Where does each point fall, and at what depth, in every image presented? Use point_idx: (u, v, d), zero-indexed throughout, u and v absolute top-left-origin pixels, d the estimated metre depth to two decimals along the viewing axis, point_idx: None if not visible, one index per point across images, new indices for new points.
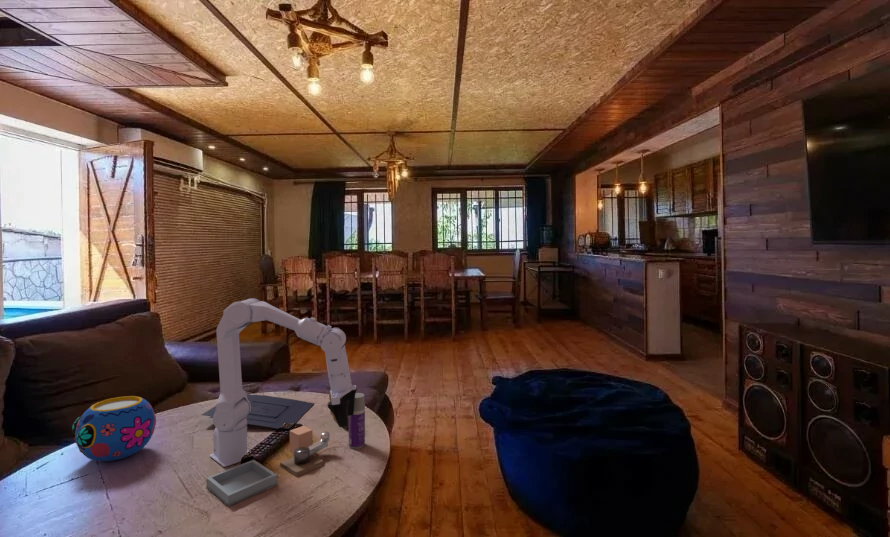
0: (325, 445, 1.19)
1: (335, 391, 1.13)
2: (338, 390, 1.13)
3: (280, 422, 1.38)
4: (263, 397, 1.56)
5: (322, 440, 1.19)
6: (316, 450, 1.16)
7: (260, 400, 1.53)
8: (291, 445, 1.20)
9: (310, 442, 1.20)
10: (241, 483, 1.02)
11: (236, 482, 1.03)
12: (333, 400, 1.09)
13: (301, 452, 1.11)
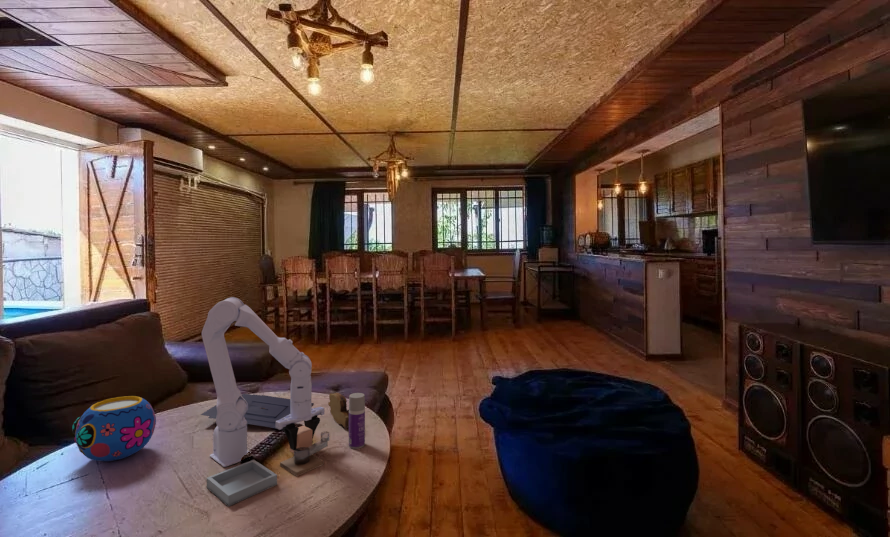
0: (325, 445, 1.19)
1: (290, 415, 1.19)
2: (291, 415, 1.18)
3: None
4: (262, 397, 1.56)
5: (322, 440, 1.19)
6: (316, 450, 1.16)
7: (259, 400, 1.53)
8: None
9: (310, 442, 1.20)
10: (241, 483, 1.02)
11: (236, 482, 1.03)
12: (276, 424, 1.15)
13: (301, 452, 1.11)
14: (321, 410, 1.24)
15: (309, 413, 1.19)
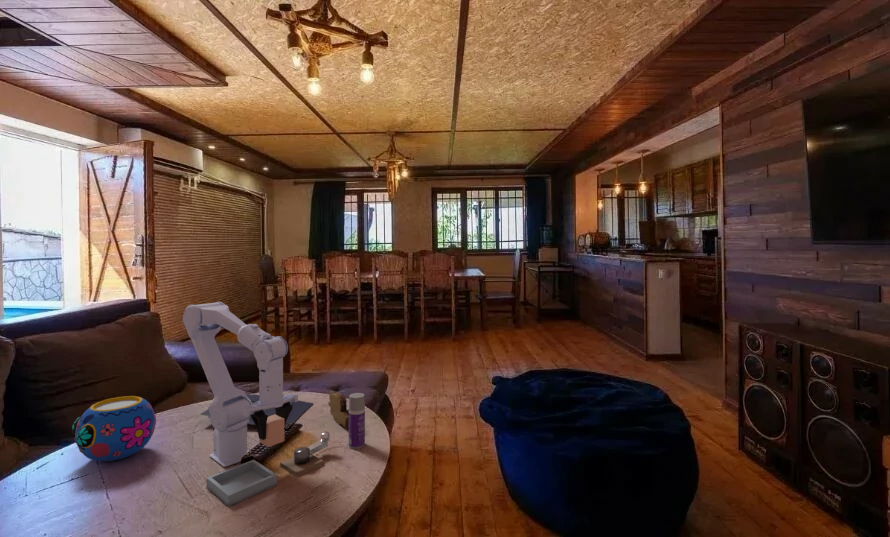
0: (325, 445, 1.19)
1: (259, 402, 1.08)
2: (260, 402, 1.08)
3: None
4: None
5: (322, 440, 1.19)
6: (316, 450, 1.16)
7: None
8: None
9: (282, 432, 1.10)
10: (241, 483, 1.02)
11: (236, 482, 1.03)
12: (243, 411, 1.04)
13: (301, 452, 1.11)
14: (294, 397, 1.14)
15: (280, 399, 1.09)
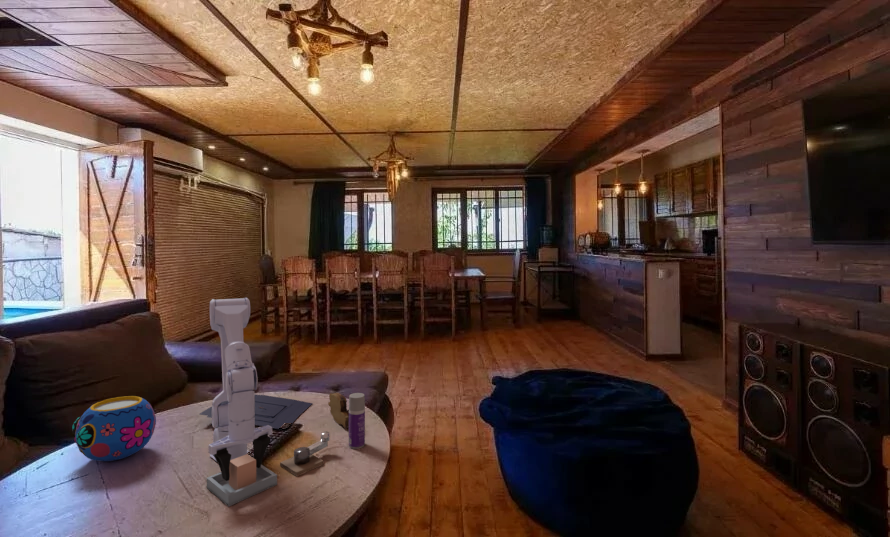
0: (325, 445, 1.19)
1: (228, 437, 1.00)
2: (229, 437, 0.99)
3: (277, 422, 1.38)
4: (261, 397, 1.56)
5: (322, 440, 1.19)
6: (316, 450, 1.16)
7: (258, 400, 1.53)
8: (230, 478, 1.01)
9: (253, 474, 1.02)
10: None
11: None
12: (209, 448, 0.96)
13: (301, 452, 1.11)
14: (268, 430, 1.06)
15: (251, 434, 1.01)
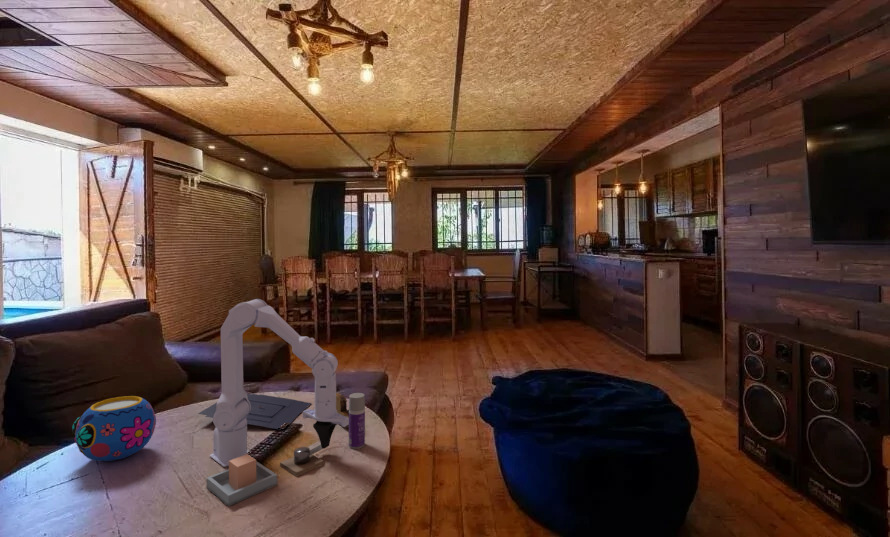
0: None
1: (331, 416, 1.15)
2: (333, 414, 1.15)
3: (275, 422, 1.38)
4: (261, 396, 1.57)
5: None
6: (316, 450, 1.16)
7: (257, 399, 1.54)
8: (230, 478, 1.01)
9: (253, 474, 1.02)
10: None
11: None
12: (345, 422, 1.13)
13: (301, 452, 1.11)
14: None
15: None
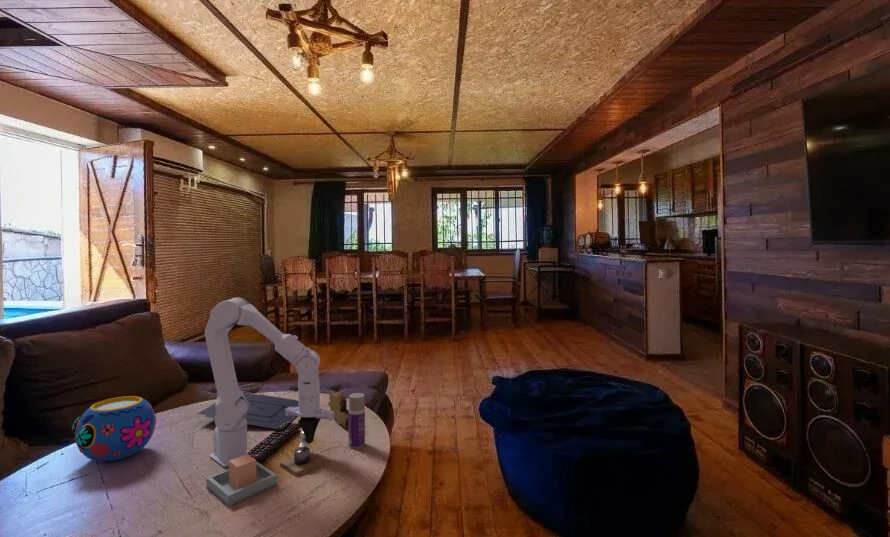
0: None
1: (316, 411, 1.17)
2: (318, 410, 1.18)
3: (275, 422, 1.38)
4: (260, 396, 1.57)
5: (304, 438, 1.20)
6: None
7: (257, 399, 1.54)
8: (230, 478, 1.01)
9: (253, 474, 1.02)
10: None
11: None
12: (331, 416, 1.16)
13: (304, 451, 1.12)
14: None
15: None
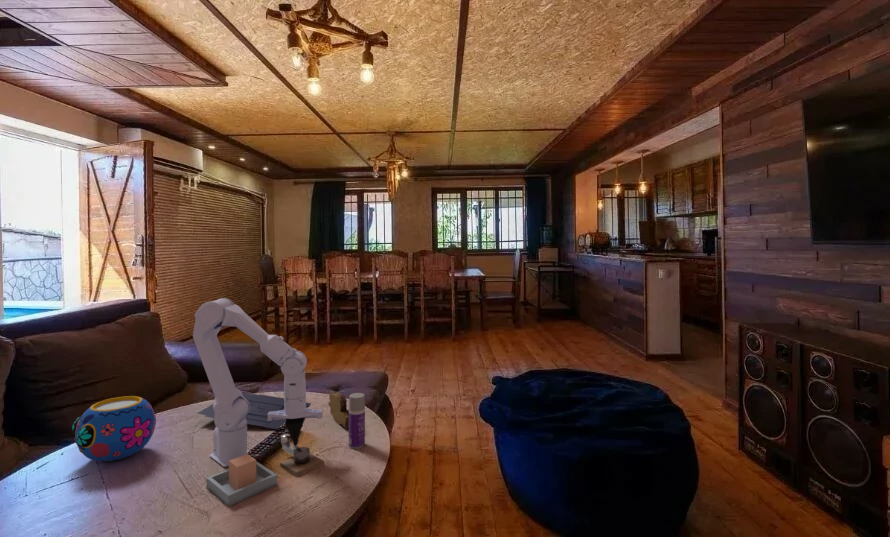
0: None
1: (304, 412, 1.17)
2: (305, 410, 1.18)
3: (274, 422, 1.38)
4: (260, 396, 1.57)
5: (288, 442, 1.17)
6: None
7: (257, 399, 1.54)
8: (230, 478, 1.01)
9: (253, 474, 1.02)
10: None
11: None
12: (321, 413, 1.18)
13: (306, 450, 1.12)
14: None
15: None
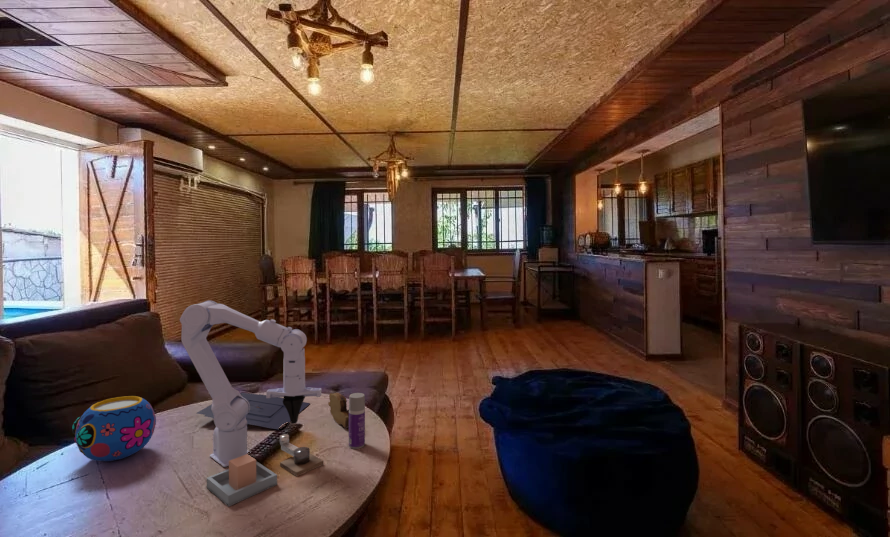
0: None
1: (303, 390, 1.17)
2: (304, 388, 1.18)
3: (273, 422, 1.38)
4: (260, 396, 1.57)
5: (287, 442, 1.17)
6: None
7: (256, 399, 1.54)
8: (230, 478, 1.01)
9: (253, 474, 1.02)
10: None
11: None
12: (320, 392, 1.18)
13: (306, 450, 1.12)
14: None
15: None
